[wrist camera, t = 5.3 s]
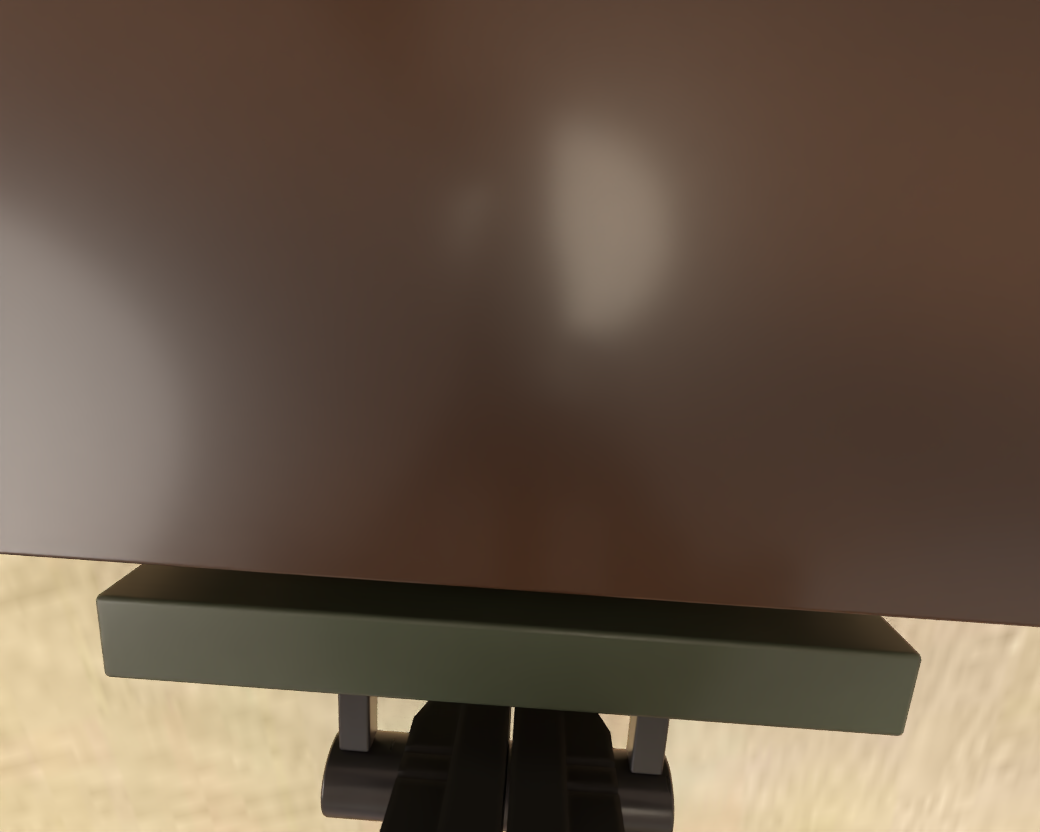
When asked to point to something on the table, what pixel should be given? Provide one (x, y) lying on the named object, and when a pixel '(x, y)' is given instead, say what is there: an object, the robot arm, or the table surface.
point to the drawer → (506, 663)
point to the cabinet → (530, 295)
